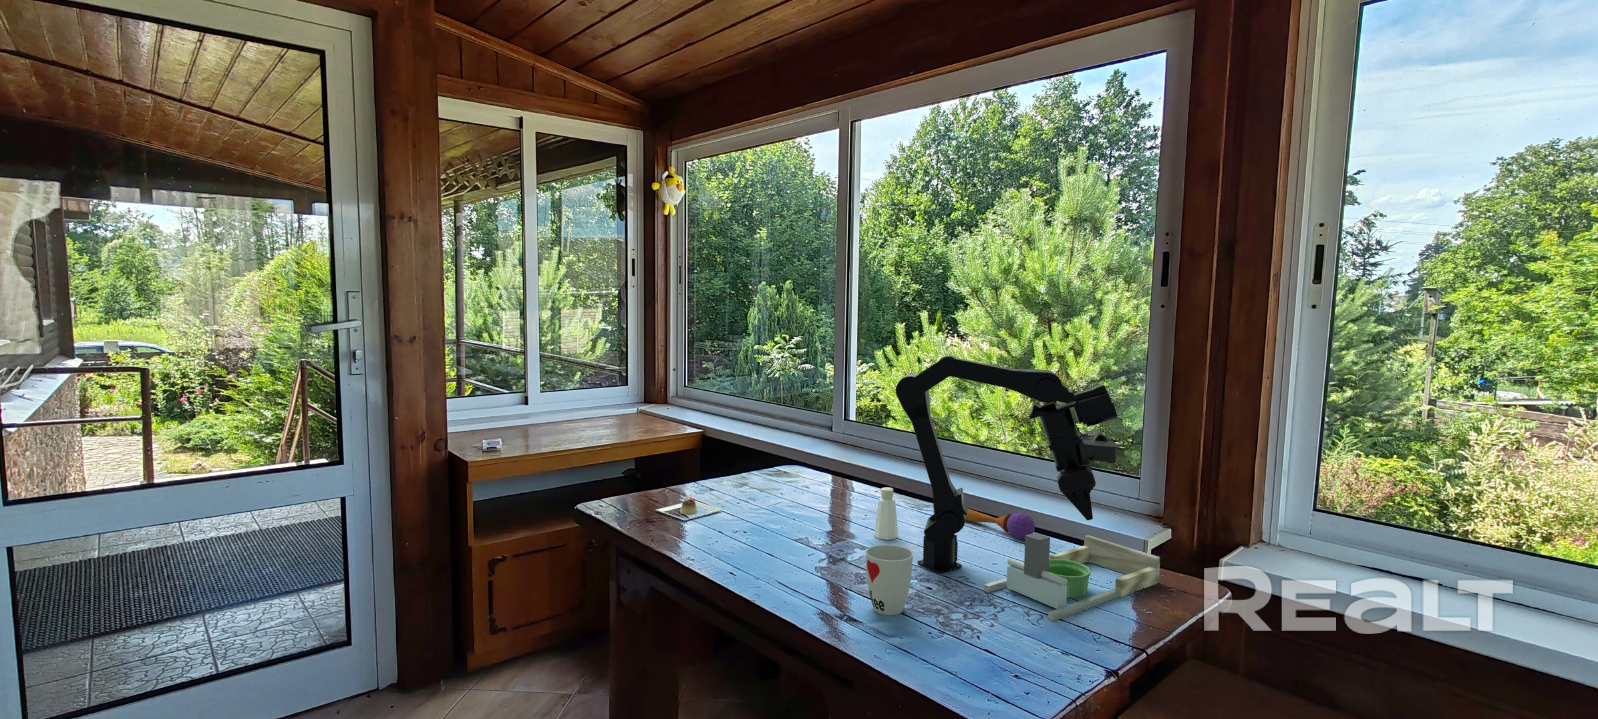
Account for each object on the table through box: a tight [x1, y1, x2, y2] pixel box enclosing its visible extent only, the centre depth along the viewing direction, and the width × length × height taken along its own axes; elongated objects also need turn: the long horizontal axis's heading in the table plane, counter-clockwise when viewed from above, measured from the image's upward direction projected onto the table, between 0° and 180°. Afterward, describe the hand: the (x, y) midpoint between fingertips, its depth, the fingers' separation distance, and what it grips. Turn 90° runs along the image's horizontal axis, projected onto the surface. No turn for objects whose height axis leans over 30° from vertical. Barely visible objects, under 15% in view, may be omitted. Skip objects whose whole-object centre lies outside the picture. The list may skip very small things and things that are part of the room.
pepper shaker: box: [874, 486, 899, 541], centre depth 161 cm, size 5×5×11 cm
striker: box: [1006, 532, 1068, 610], centre depth 127 cm, size 3×12×11 cm, turn 33°
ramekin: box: [1049, 558, 1092, 599], centre depth 132 cm, size 9×9×4 cm
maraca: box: [965, 508, 1036, 541], centre depth 167 cm, size 6×6×20 cm
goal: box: [983, 534, 1161, 622], centre depth 133 cm, size 31×15×5 cm, turn 123°
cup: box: [865, 544, 914, 616], centre depth 123 cm, size 8×8×10 cm
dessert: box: [655, 495, 723, 522], centre depth 179 cm, size 12×12×5 cm
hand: (1088, 512), depth 135 cm, fingers open, 9 cm apart
